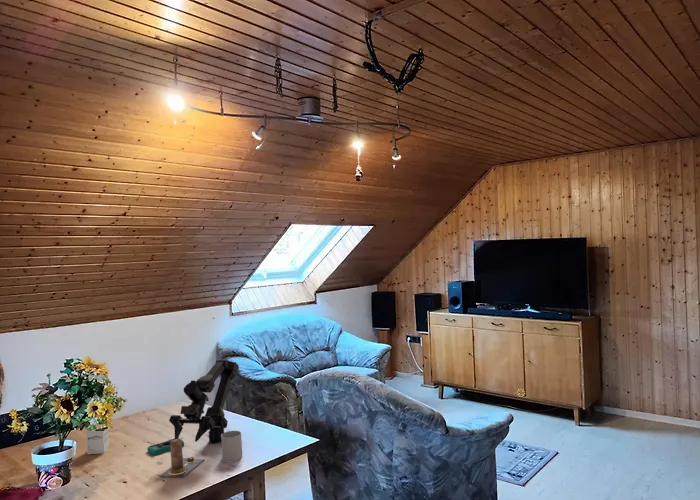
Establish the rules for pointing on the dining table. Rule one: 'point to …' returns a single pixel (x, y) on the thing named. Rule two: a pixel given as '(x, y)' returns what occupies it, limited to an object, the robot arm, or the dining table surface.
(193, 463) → the gauge plate
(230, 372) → the robot arm
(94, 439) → the supplement box
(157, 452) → the digital multimeter
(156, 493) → the dining table surface
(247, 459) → the dining table surface
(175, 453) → the walnut post
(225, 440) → the cup
